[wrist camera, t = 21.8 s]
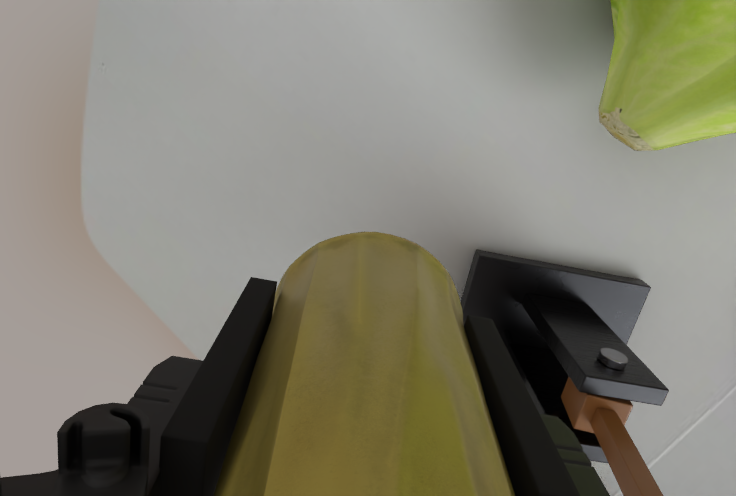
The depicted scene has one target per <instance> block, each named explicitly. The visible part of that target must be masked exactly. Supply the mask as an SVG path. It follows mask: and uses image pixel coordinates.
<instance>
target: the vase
mask: <svg viewBox="0 0 736 496" xmlns="http://www.w3.org/2000/svg"><path fill="white" fill-rule="evenodd" d="M213 496H515V493H514V490H513V487H512V483H511V480H510V477H509V474H508V470H507V467H506V464H505V461H504V457H503V454H502V451H501V448H500V445H499V441H498V438H497V435H496V432H495V429H494V426H493V423H492V420H491V417H490V413H489V410H488V407H487V403H486V400H485V396H484V392H483V389H482V385H481V381H480V377H479V374H478V371H477V367H476V364H475V361H474V357H473V354H472V351H471V348H470V345H469V342H468V339H467V335H466V332H465V329H464V325H463V312H462V306H461V303H460V299H459V296H458V293H457V290H456V288H455V285H454V283H453V281H452V279H451V276H450V275H449V273H448V272H447V270H446V269H445V268H444V266H443V265H442V264H441V263H440V262H439V261H438V260H437V259H436V258H435V257H434V256H433V255H431V254H430V253H429V252H428V251H427V250H425V249H424V248H422V247H421V246H419V245H418V244H416V243H413V242H411V241H409V240H407V239H404V238H401V237H397V236H394V235H391V234H385V233H379V232H358V233H351V234H346V235H341V236H337V237H334V238H330V239H327V240H325V241H322V242H319V243H318V244H316V245H315V246H313V247H311V248H310V249H309V250H307V251H306V252H305V253H303V254H302V255H301V256H300V257H299V258H298V259H296V260H295V261H294V262H293V263H292V264H291V265H290V266H289V268H288V269H287V271H286V272H285V274H284V275H283V277H282V279H281V281H280V283H279V285H278V288H277V290H276V293H275V300H274V307H273V314H272V319H271V322H270V325H269V327H268V330H267V333H266V336H265V338H264V341H263V344H262V346H261V349H260V352H259V354H258V357H257V360H256V363H255V366H254V370H253V373H252V376H251V379H250V383H249V386H248V389H247V392H246V396H245V399H244V402H243V405H242V408H241V411H240V414H239V417H238V420H237V423H236V425H235V428H234V431H233V434H232V437H231V440H230V443H229V446H228V449H227V452H226V455H225V459H224V462H223V465H222V469H221V472H220V476H219V479H218V482H217V485H216V488H215V491H214V494H213Z"/></svg>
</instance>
